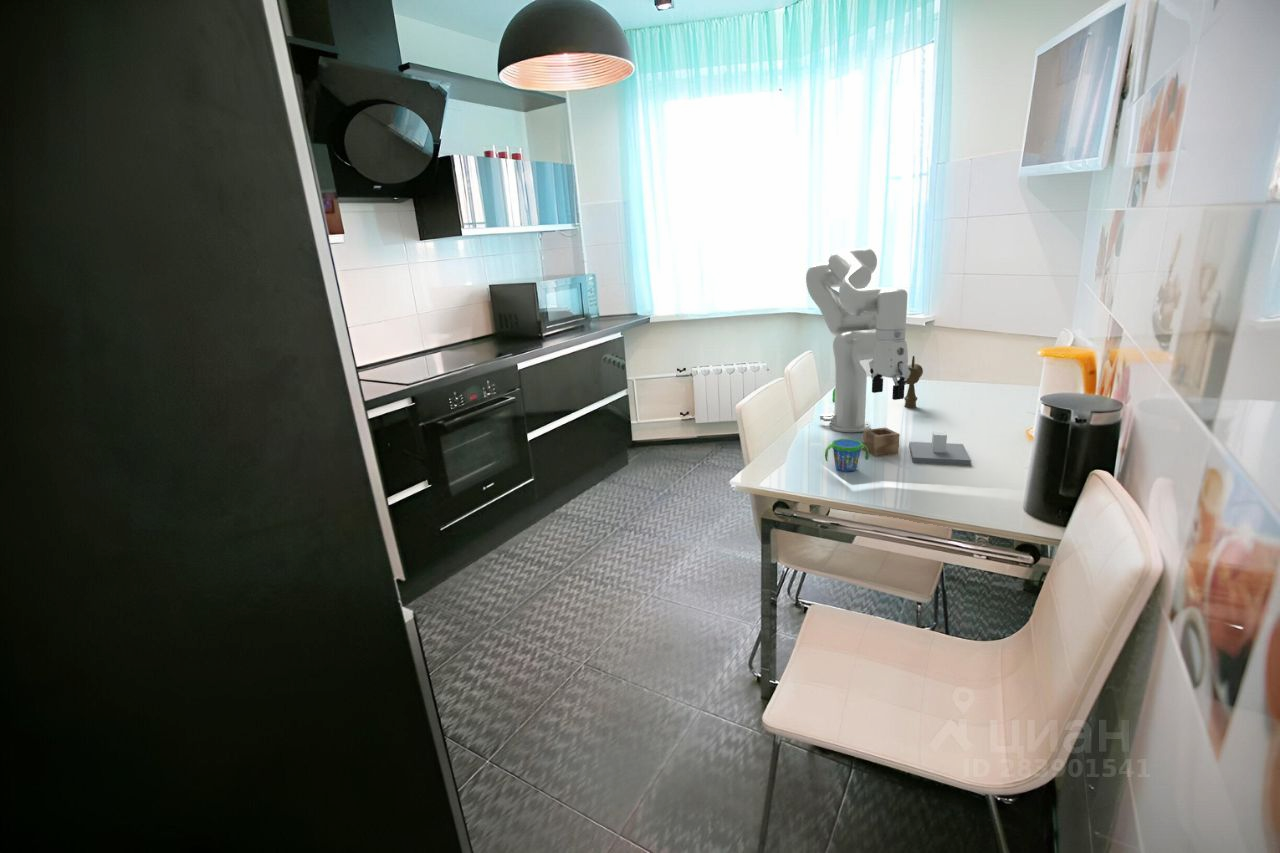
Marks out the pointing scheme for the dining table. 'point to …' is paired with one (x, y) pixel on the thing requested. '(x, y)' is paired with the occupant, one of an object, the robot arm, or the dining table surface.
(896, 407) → the dining table surface
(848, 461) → the snack cup
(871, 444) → the brown wooden square box
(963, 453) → the board
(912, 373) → the kendama
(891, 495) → the dining table surface
